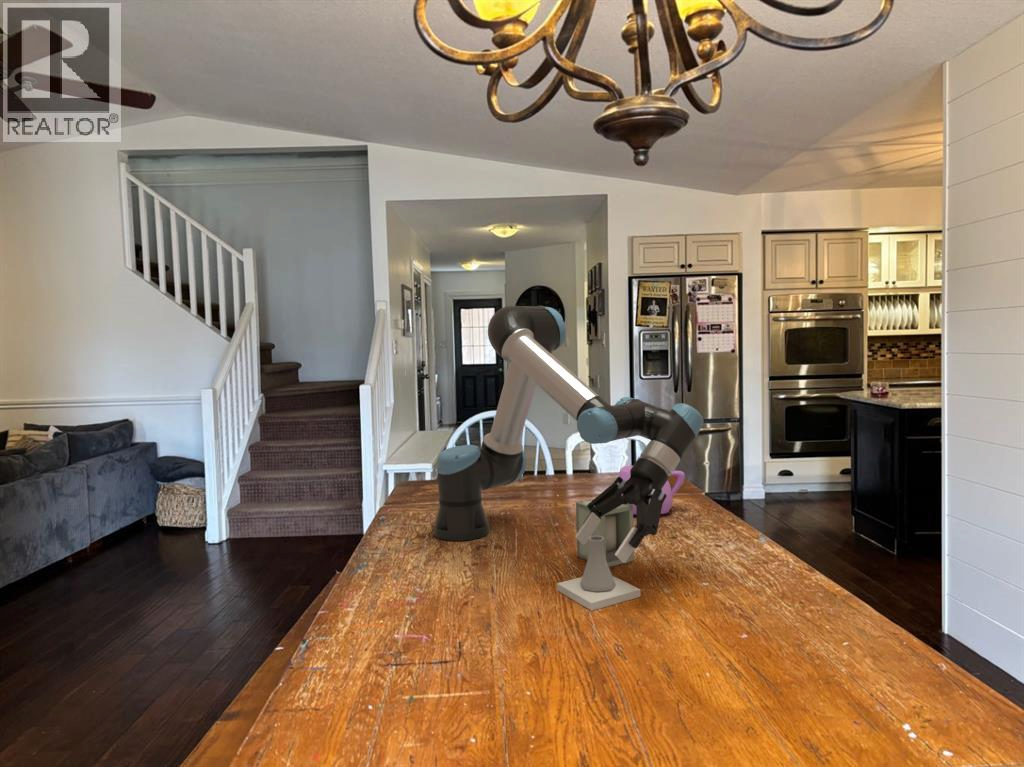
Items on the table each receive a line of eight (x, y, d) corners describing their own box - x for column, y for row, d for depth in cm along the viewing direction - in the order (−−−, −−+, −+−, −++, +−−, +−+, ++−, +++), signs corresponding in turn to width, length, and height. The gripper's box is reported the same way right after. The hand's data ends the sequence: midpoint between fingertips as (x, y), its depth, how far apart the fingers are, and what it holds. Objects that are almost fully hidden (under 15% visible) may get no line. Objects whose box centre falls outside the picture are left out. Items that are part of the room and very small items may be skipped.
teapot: (688, 519, 179) (687, 466, 178) (612, 518, 183) (611, 466, 182) (681, 499, 201) (681, 452, 200) (614, 498, 205) (613, 452, 204)
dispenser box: (577, 556, 152) (575, 502, 151) (607, 549, 156) (606, 497, 155) (602, 568, 143) (601, 511, 142) (634, 560, 147) (632, 505, 146)
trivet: (557, 590, 131) (557, 583, 131) (603, 578, 137) (603, 571, 137) (591, 610, 121) (591, 603, 120) (640, 596, 126) (640, 589, 126)
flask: (615, 593, 125) (614, 543, 124) (578, 592, 126) (577, 542, 125) (615, 579, 132) (614, 532, 131) (581, 578, 133) (579, 532, 132)
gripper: (707, 488, 125) (650, 578, 119) (626, 468, 147) (575, 544, 141) (686, 465, 122) (627, 556, 116) (607, 448, 144) (554, 524, 138)
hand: (598, 549), depth 128 cm, fingers open, 13 cm apart
